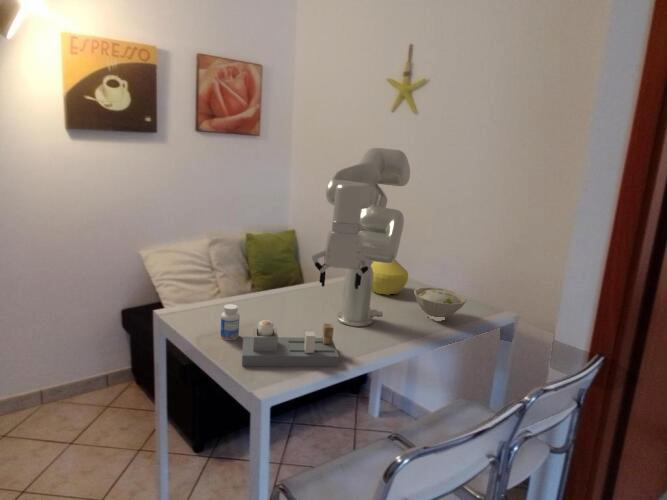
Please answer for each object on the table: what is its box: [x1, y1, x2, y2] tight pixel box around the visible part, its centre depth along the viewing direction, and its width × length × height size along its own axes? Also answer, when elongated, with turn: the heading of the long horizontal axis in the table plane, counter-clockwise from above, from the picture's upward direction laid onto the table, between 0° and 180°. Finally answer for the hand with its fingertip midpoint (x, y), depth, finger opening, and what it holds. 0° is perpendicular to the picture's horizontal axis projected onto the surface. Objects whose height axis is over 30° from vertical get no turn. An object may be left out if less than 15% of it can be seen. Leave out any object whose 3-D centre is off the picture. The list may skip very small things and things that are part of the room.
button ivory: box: [258, 319, 274, 336], centre depth 130 cm, size 4×4×4 cm
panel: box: [241, 327, 340, 367], centre depth 132 cm, size 26×12×7 cm, turn 100°
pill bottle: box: [220, 303, 241, 341], centre depth 141 cm, size 6×5×10 cm
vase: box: [371, 259, 409, 296], centre depth 198 cm, size 18×18×19 cm
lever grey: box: [304, 331, 316, 353], centre depth 130 cm, size 2×3×5 cm
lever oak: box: [321, 323, 334, 344], centre depth 137 cm, size 2×3×5 cm
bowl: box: [413, 286, 468, 318], centre depth 174 cm, size 19×19×10 cm
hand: (339, 286), depth 136 cm, fingers open, 9 cm apart
